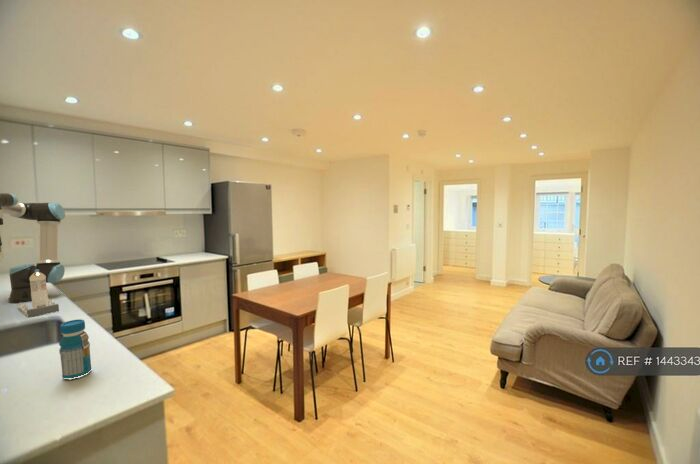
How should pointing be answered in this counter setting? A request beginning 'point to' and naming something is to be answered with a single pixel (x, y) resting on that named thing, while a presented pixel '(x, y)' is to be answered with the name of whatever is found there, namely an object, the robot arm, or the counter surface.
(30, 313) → the block
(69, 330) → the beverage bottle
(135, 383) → the counter surface
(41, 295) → the water bottle
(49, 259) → the robot arm
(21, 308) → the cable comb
